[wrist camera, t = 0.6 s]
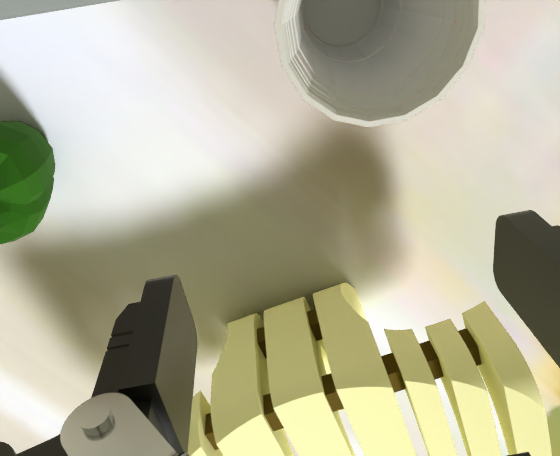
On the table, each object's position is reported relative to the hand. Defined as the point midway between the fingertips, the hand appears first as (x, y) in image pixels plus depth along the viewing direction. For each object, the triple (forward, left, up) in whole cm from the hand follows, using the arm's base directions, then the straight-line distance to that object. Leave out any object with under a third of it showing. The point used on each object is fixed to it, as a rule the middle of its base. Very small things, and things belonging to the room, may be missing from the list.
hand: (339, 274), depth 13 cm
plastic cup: (-3, +5, -28) cm, 29 cm away
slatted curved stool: (+28, -1, -28) cm, 40 cm away
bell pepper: (+4, -21, -28) cm, 35 cm away
